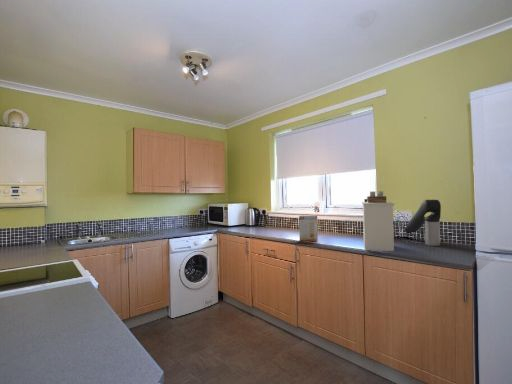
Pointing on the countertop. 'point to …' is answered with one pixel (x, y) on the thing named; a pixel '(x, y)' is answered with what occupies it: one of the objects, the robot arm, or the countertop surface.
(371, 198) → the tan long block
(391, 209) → the cabinet
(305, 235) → the cracker box
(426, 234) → the robot arm
